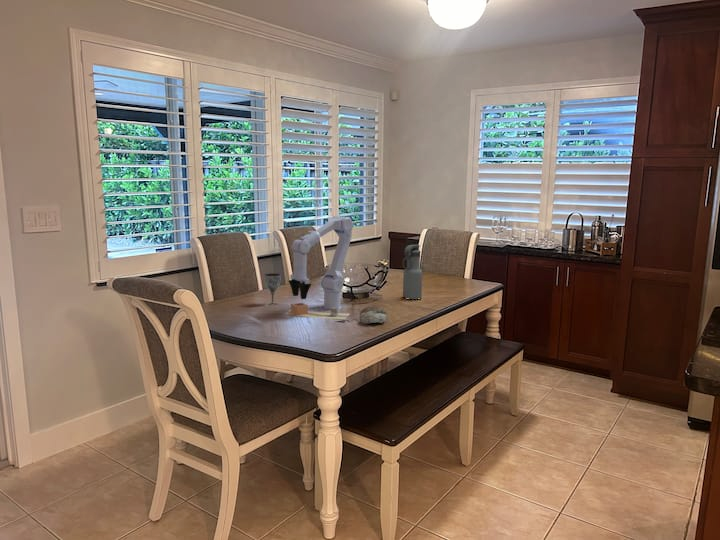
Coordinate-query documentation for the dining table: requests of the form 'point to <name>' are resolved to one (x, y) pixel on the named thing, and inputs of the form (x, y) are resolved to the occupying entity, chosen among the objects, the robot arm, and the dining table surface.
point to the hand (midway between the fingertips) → (299, 297)
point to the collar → (299, 309)
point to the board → (322, 314)
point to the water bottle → (412, 273)
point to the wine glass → (272, 284)
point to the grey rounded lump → (373, 315)
